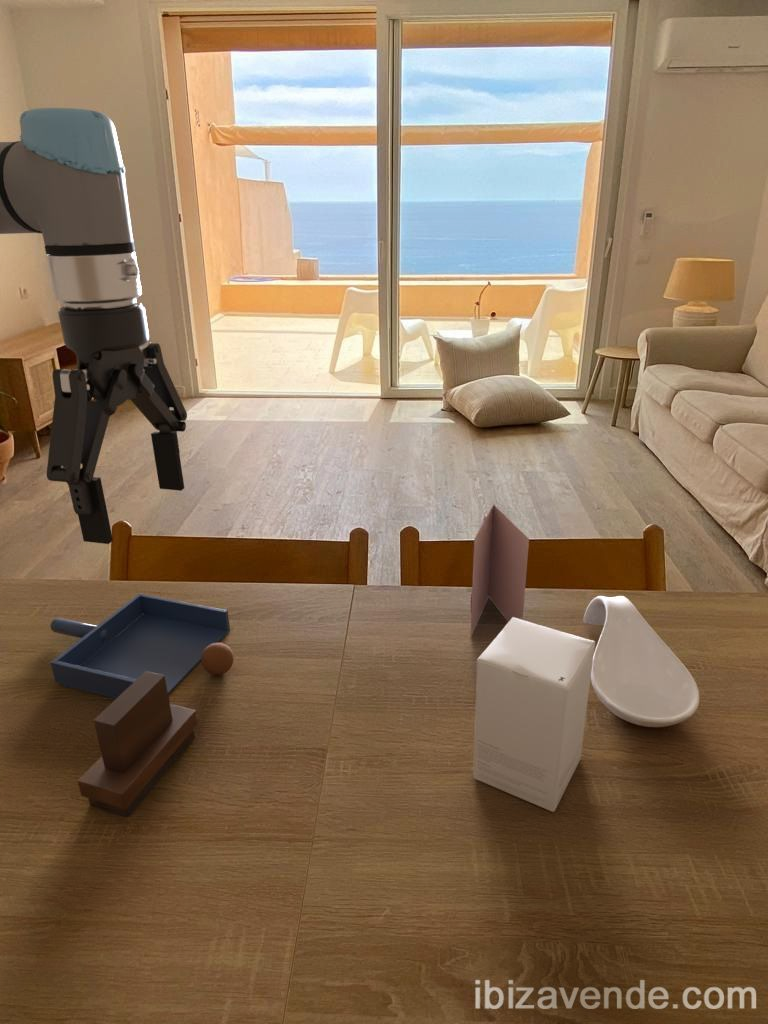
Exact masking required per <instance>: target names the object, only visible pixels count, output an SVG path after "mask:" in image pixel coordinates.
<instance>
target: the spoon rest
mask: <svg viewBox="0 0 768 1024" xmlns="http://www.w3.org/2000/svg"><path fill="white" fill-rule="evenodd" d="M582 621H583V623H584V624H585V625H589V626H603V628H602V631H601V634H600V636H599V639H598V641H597V644H596V647H595V648H594V655H593V663H592V670H591V678H590V682H591V684H592V689H593V690H594V693H595V695H596V696H597V698H598V700H599V701H600V702H601V703H602V705H603V706H604V707H605V708H606V709H607V710H608V711H610V712H611V713H612V714H613V715H615V716H617V717H618V718H619V719H621V720H623V721H626V722H628V723H631V724H634V725H637V726H640V727H641V726H642V727H647V728H665V727H669V726H673V725H677V724H680V723H682V722H684V721H686V720H688V719H689V718H690V717H692V716H693V715H694V714H695V713H696V712H697V710H698V708H699V705H700V691H699V688H698V685H697V683H696V680H695V679H694V677H693V676H692V674H691V671H689V670H688V668H687V667H686V666H685V665H684V663H683V662H682V661H681V660H680V658H679V657H678V656H677V655H676V654H675V652H674V651H673V650H672V649H671V648H670V647H669V646H668V644H666V643H665V642H664V640H663V639H662V638H661V637H660V635H658V634H657V632H656V631H655V630H654V629H653V628H652V627H651V625H650V624H649V623H648V622H647V621H646V619H645V618H644V617H643V616H642V614H641V613H640V612H639V610H638V609H637V607H635V605H634V603H632V601H631V600H630V599H628V597H626V596H624V595H617V596H605V595H598V596H595V597H594V598H593V599H592V600H590V603H589V604H588V605H587V607H586V610H585V612H584V615H583V619H582Z"/></svg>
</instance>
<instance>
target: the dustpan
mask: <svg viewBox="0 0 768 1024" xmlns="http://www.w3.org/2000/svg"><path fill="white" fill-rule="evenodd" d="M50 630H51V631H52V632H53V633H55V634H61V635H65V636H68V637H72V638H73V637H74V638H78V640H77V641H76V642H75V643H73V644H72V645H71V646H70V647H69V648H67V649H66V650H65V651H63V652H61V654H59V655H58V656H57V657H55V658H54V659H52V661H50V667H51V670H52V675H53V678H54V682H55V683H58V685H59V686H62V687H66V688H70V689H73V690H78V691H82V692H86V693H90V694H94V695H97V696H101V697H106V698H110V699H113V700H116V699H117V698H118V697H119V696H120V695H121V694H122V693H123V692H124V691H125V690H126V689H127V688H128V687H129V686H130V685H131V684H133V683H134V682H135V681H136V680H137V679H138V678H139V677H140V676H141V675H142V674H143V673H144V672H145V671H148V672H152V673H156V674H161V675H165V680H166V685H167V691H168V695H170V693H171V692H172V691H173V690H175V688H176V687H177V686H179V684H180V683H182V681H183V680H184V679H185V678H186V677H187V676H188V675H189V674H190V673H191V672H192V671H193V670H194V669H195V668H196V667H197V666H198V665H199V664H200V663H201V656H202V653H203V651H204V650H205V648H206V647H208V646H209V645H211V644H213V643H220V642H221V641H222V640H223V639H224V637H225V636H226V635H227V634H228V633H229V632H230V631H231V626H230V619H229V610H228V609H223V608H217V607H212V606H207V605H201V604H196V603H191V602H185V601H180V600H176V599H170V598H165V597H161V596H160V597H159V596H154V595H149V594H145V593H138V594H136V595H135V596H134V597H133V598H131V599H130V600H129V601H127V602H126V603H125V604H123V605H122V606H121V607H120V608H118V609H117V610H116V611H115V612H113V613H112V614H110V615H109V616H108V617H107V618H105V619H104V620H103V621H102V622H100V623H99V624H98V625H94V624H89V623H85V622H80V621H75V620H72V619H71V620H70V619H66V618H61V617H56V618H54V619H53V620H52V621H51V622H50Z"/></svg>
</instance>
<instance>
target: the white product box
mask: <svg viewBox="0 0 768 1024" xmlns="http://www.w3.org/2000/svg"><path fill="white" fill-rule="evenodd" d="M595 646H596V640H592V639H588V638H585V637H581V636H578V635H575V634H571V633H568V632H564V631H561V630H557V629H555V628H551V627H547V626H544V625H540V624H537V623H534V622H531V621H527V620H524V619H523V620H521V619H518V618H515V617H512V619H511V620H510V621H509V622H508V621H507V623H506V624H505V626H503V628H502V629H501V631H500V632H499V633H498V634H497V636H495V638H494V639H493V640H492V641H491V642H490V644H489V645H488V646H487V647H486V648H485V650H484V651H483V652H482V653H481V654H480V655H479V657H478V658H477V659H476V686H475V689H476V690H475V711H474V713H475V714H474V738H473V764H472V778H473V779H474V780H477V781H479V782H482V783H484V784H486V785H488V786H490V787H493V788H495V789H498V790H499V791H503V792H505V793H507V794H509V795H512V796H514V797H517V798H519V799H520V800H521V799H522V800H523V801H526V802H528V803H530V804H533V805H534V806H535V805H536V806H538V807H540V808H543V809H545V810H547V811H549V812H552V813H554V812H555V811H556V810H557V807H558V805H559V803H560V802H561V800H562V797H563V796H564V794H565V791H566V790H567V788H568V785H569V783H570V781H571V779H572V777H573V775H574V773H575V771H576V769H577V767H578V765H579V763H580V760H581V758H582V751H583V743H584V735H585V727H586V719H587V712H588V711H587V709H588V703H589V702H588V701H589V693H590V685H591V670H592V663H593V656H594V652H595V648H596V647H595Z"/></svg>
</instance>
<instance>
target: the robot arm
mask: <svg viewBox="0 0 768 1024" xmlns="http://www.w3.org/2000/svg"><path fill="white" fill-rule="evenodd" d="M19 126H20V135H19V140H17V141H0V235H9V234H10V235H12V234H42V240H43V243H44V251H45V254H46V255H45V257H46V262H47V267H48V272H49V276H50V282H51V288H52V293H53V298H54V299H55V301H57V302H58V303H61V304H62V305H63V306H61V307H60V308H59V310H58V312H57V314H58V318H59V324H60V329H61V334H62V338H63V343H64V345H65V347H66V348H67V349H69V350H71V351H72V352H73V353H74V354H75V356H76V368H73V369H67V368H55V369H53V371H52V383H53V389H54V401H53V412H52V421H51V429H50V430H51V431H50V438H49V439H50V440H49V446H48V447H49V448H48V458H47V467H46V479H47V480H48V481H50V482H61V483H66V484H67V485H68V489H69V494H70V499H71V502H72V508H73V511H74V512H75V514H76V515H77V517H78V521H79V526H80V530H81V535H82V539H83V542H84V543H85V542H87V543H94V544H103V545H109V544H110V543H113V541H114V538H113V534H112V529H111V523H110V519H109V514H108V509H107V504H106V499H105V492H104V489H103V488H104V487H103V483H102V478H101V477H99V476H98V477H97V476H94V475H95V472H96V468H97V464H98V461H99V457H100V454H101V449H102V446H103V442H104V439H105V436H106V435H105V434H106V431H107V428H108V424H109V420H110V417H111V416H112V415H114V414H115V413H116V412H117V408H118V407H119V406H121V405H123V404H124V403H125V402H126V401H127V400H130V401H131V402H132V403H133V405H134V406H135V407H136V408H137V409H138V411H140V413H141V414H142V415H143V416H144V417H145V418H146V420H147V421H148V422H149V423H150V424H151V426H152V427H153V428H154V429H155V430H157V431H153V432H152V433H150V438H151V445H152V448H153V449H152V451H153V456H154V457H153V458H154V462H155V469H156V475H157V481H158V487H159V489H160V490H168V491H180V492H181V491H183V490H184V489H185V481H184V475H183V468H182V462H181V456H180V454H181V451H180V444H179V438H178V432H184V433H185V431H186V428H187V424H186V421H187V418H188V412H187V410H186V408H185V405H184V404H183V401H182V398H181V396H180V395H179V392H178V391H177V389H176V387H175V386H176V385H175V384H174V382H173V380H172V378H171V376H170V374H169V371H168V369H167V367H166V365H165V362H164V358H163V357H164V356H163V353H162V348H161V345H160V343H158V342H148V341H149V340H150V333H149V328H148V321H147V315H146V308H145V306H144V305H143V303H142V302H139V301H137V299H138V298H140V297H141V295H142V294H143V292H142V285H141V280H140V274H139V273H140V269H139V267H138V266H139V265H138V261H137V256H136V255H137V254H136V247H135V246H136V245H135V243H134V242H135V241H134V237H133V230H132V221H131V214H130V208H129V206H130V205H129V199H128V198H129V197H128V191H127V181H126V166H125V164H124V163H123V162H124V161H123V158H122V153H121V148H120V144H119V141H118V135H117V130H116V127H115V124H114V122H113V121H112V119H111V118H110V117H109V116H108V115H106V114H105V113H104V112H101V111H97V110H93V109H85V108H72V107H39V108H31V109H28V110H25V111H23V112H22V113H21V114H20V116H19ZM171 408H172V409H171ZM81 465H82V467H81Z"/></svg>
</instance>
